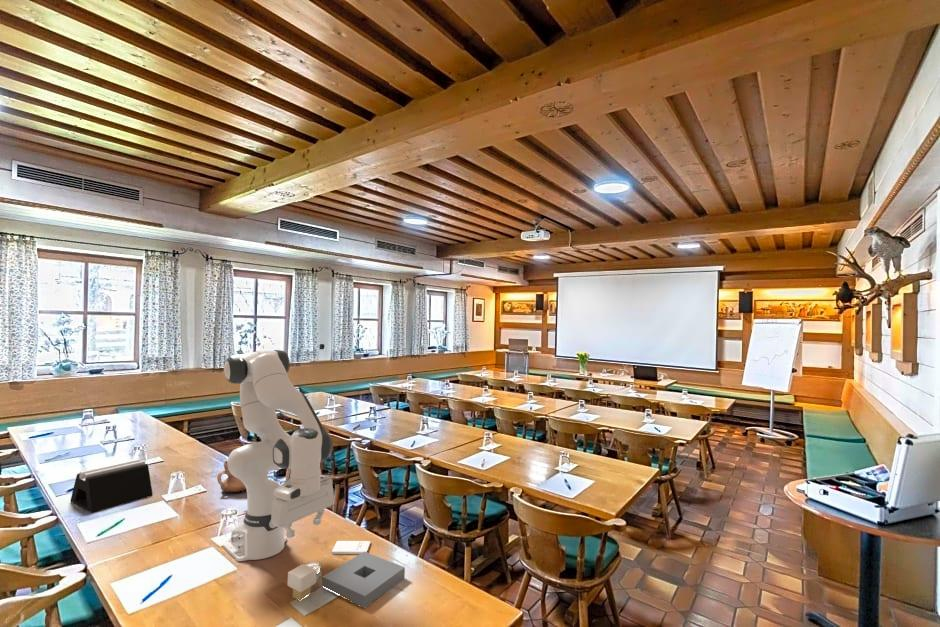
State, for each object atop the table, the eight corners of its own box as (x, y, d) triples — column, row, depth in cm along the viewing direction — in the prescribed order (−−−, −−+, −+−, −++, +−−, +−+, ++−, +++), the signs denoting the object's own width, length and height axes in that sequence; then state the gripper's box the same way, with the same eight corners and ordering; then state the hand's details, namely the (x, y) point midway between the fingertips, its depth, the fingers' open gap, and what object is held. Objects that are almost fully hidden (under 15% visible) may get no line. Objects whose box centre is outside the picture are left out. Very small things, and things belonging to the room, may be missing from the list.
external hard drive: (337, 544, 162) (370, 544, 163) (331, 556, 154) (366, 556, 155) (337, 540, 162) (370, 540, 163) (331, 551, 154) (366, 551, 155)
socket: (322, 588, 135) (322, 576, 135) (363, 561, 150) (364, 551, 150) (364, 608, 125) (364, 596, 125) (404, 578, 141) (404, 567, 141)
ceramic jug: (247, 481, 223) (248, 453, 223) (262, 487, 214) (262, 458, 215) (210, 492, 209) (210, 462, 209) (223, 499, 200) (224, 468, 200)
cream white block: (287, 597, 130) (288, 572, 130) (302, 588, 134) (303, 563, 135) (300, 604, 127) (301, 578, 127) (315, 594, 131) (316, 569, 131)
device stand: (70, 502, 194) (72, 468, 195) (129, 486, 214) (131, 455, 214) (92, 513, 183) (93, 478, 183) (152, 496, 203) (153, 463, 203)
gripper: (325, 472, 142) (324, 515, 142) (268, 492, 124) (267, 541, 124) (339, 476, 139) (337, 520, 138) (282, 497, 121) (281, 547, 121)
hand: (304, 530), depth 131 cm, fingers open, 8 cm apart
